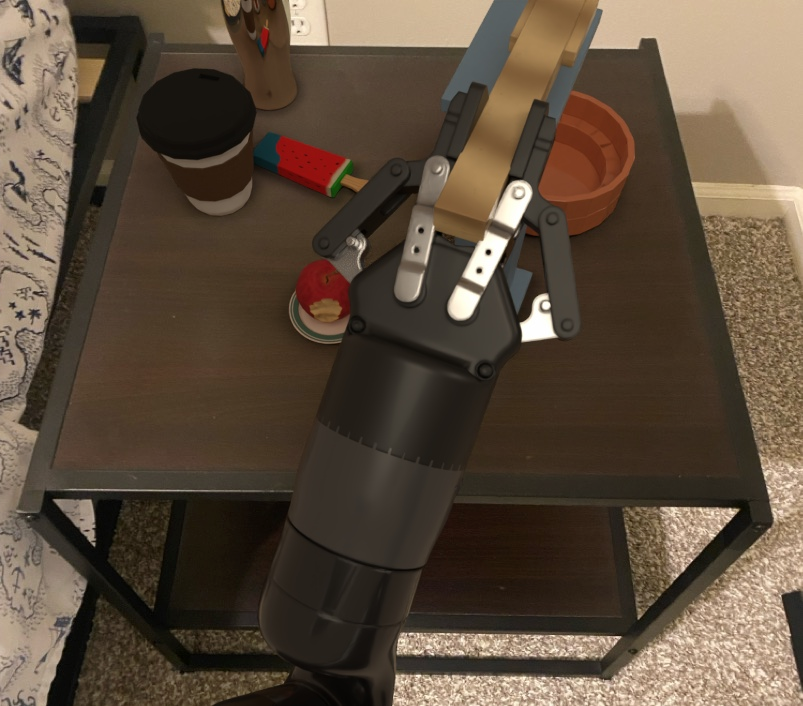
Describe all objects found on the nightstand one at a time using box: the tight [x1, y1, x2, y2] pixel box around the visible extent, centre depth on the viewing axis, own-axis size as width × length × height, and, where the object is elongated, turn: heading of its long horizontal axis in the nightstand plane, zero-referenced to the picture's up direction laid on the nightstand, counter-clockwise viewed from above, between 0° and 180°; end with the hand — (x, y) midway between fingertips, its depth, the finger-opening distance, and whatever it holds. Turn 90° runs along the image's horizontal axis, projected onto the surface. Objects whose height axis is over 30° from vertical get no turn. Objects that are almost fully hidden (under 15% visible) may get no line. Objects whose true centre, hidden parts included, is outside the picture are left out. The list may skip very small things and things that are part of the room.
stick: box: [433, 0, 600, 244], centre depth 35 cm, size 18×4×2 cm, turn 158°
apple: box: [288, 258, 350, 345], centre depth 65 cm, size 8×8×6 cm
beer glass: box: [219, 0, 298, 111], centre depth 76 cm, size 7×7×15 cm
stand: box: [439, 0, 604, 316], centre depth 57 cm, size 12×8×28 cm, turn 158°
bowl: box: [525, 89, 636, 237], centre depth 74 cm, size 16×16×6 cm
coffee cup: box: [135, 67, 258, 217], centre depth 70 cm, size 11×11×12 cm
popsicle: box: [253, 131, 369, 198], centre depth 76 cm, size 5×2×15 cm
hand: (510, 99), depth 33 cm, fingers closed on stick, 2 cm apart
